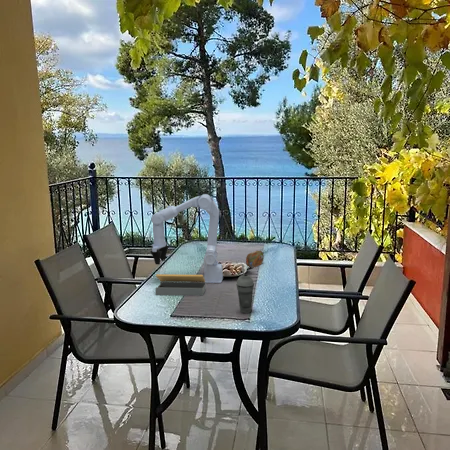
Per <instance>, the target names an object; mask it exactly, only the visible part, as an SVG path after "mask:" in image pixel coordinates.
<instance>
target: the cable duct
mask: <svg viewBox="0 0 450 450" xmlns="http://www.w3.org/2000/svg"><path fill="white" fill-rule="evenodd" d="M159 283H160V284H159V285H158V286H156V287H155V295H156V296H194V297H195V296H197V297H203V296H204V293H205V291H206V283H205V282H160V281H159Z"/></svg>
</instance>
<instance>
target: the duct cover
mask: <svg viewBox="0 0 450 450" xmlns="http://www.w3.org/2000/svg"><path fill="white" fill-rule="evenodd" d="M155 277H156V278H157V279H158V280H159V283H160V282H205V279H204V275H203V274H179V273H178V274H177V273H175V274H169V273H168V274H167V273H165V274H164V273H163V274H160V273H159V274H158V273H157V274H155Z"/></svg>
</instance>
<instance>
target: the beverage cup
mask: <svg viewBox="0 0 450 450" xmlns="http://www.w3.org/2000/svg"><path fill="white" fill-rule="evenodd" d="M241 269H242V270H241V271H242V275H240V276H239V277H238V278H237V281H236V289H237V294H238V302H239V303H238V306H239V310H240V313H241V314H250V313H251V312H252V307H253V306H252V304H253V291H254V285H255V283H254V279H253V278H252V276H250V275H249V274H245V270H244V264H243V263H242V264H241Z"/></svg>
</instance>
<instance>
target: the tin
mask: <svg viewBox="0 0 450 450" xmlns="http://www.w3.org/2000/svg"><path fill="white" fill-rule="evenodd" d="M264 258H265V255H264V253H263V251H262V250H255V251H252V252H249V253H248V254H247V255H246V257H245V263H246V267H248V266H249V267H251V269H255V268H256V267H259V266H261V265H263V262H264ZM249 267H248V268H249ZM254 267H255V268H254Z"/></svg>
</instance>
